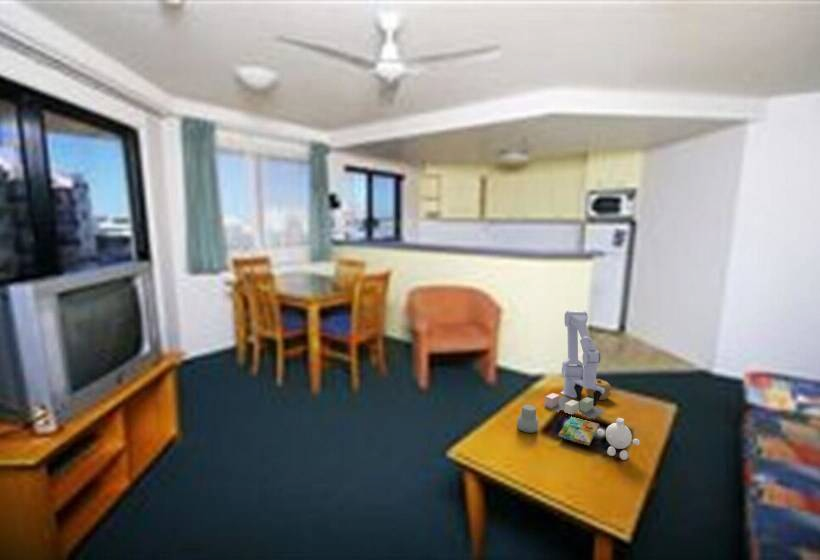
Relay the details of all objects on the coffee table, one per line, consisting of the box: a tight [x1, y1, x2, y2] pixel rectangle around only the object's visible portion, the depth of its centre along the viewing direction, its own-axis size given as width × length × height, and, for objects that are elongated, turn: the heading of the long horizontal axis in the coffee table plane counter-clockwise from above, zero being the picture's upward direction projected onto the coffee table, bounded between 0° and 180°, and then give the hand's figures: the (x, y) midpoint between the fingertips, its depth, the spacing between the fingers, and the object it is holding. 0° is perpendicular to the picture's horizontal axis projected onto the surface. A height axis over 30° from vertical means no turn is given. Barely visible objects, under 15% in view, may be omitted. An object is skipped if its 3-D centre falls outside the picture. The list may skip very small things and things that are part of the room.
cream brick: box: [564, 399, 579, 415], centre depth 201 cm, size 7×4×5 cm, turn 133°
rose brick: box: [544, 392, 560, 408], centre depth 208 cm, size 7×4×5 cm, turn 133°
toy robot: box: [596, 417, 641, 461], centre depth 165 cm, size 15×10×15 cm, turn 57°
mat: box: [542, 395, 606, 420], centre depth 205 cm, size 20×22×1 cm
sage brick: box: [579, 396, 594, 412], centre depth 205 cm, size 7×4×5 cm, turn 133°
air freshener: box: [516, 404, 539, 434], centre depth 183 cm, size 11×8×10 cm
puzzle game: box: [558, 416, 600, 447], centre depth 179 cm, size 12×5×20 cm
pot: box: [585, 378, 612, 401], centre depth 219 cm, size 12×12×10 cm
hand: (586, 402), depth 205 cm, fingers open, 7 cm apart
